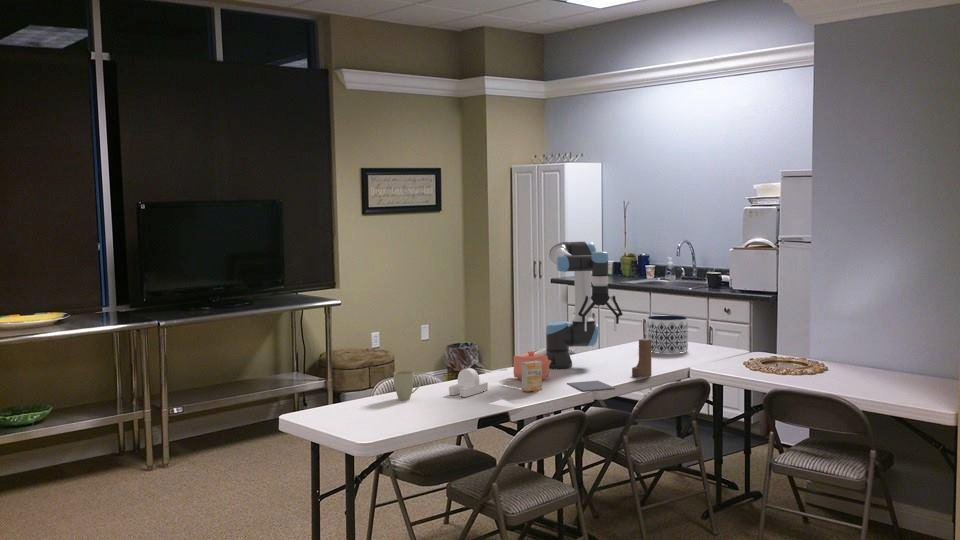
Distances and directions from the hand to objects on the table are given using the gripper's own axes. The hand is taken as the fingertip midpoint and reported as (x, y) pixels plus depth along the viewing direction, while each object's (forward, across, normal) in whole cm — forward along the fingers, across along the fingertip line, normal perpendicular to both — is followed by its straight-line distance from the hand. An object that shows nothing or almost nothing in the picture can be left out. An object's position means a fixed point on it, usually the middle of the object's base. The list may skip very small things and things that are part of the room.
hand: (600, 331), depth 401 cm
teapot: (+26, -32, +13) cm, 43 cm away
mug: (+26, -87, -28) cm, 95 cm away
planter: (+26, +44, +91) cm, 105 cm away
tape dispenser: (+26, -61, -13) cm, 67 cm away
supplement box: (+26, -32, -9) cm, 42 cm away
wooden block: (+26, +22, +22) cm, 40 cm away
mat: (+26, -5, -2) cm, 26 cm away
